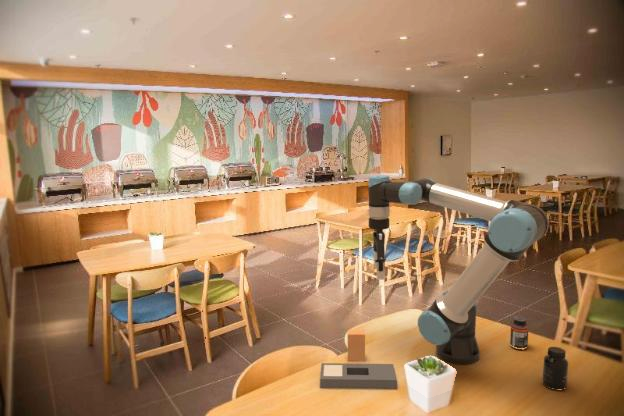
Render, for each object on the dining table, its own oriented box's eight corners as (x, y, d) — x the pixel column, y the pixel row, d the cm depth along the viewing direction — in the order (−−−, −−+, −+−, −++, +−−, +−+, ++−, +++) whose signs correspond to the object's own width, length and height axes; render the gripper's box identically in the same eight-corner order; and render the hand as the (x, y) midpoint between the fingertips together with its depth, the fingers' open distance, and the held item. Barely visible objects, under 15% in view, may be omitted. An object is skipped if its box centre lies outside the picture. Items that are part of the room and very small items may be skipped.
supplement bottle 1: (511, 342, 170) (513, 314, 168) (528, 346, 167) (530, 317, 165) (508, 348, 165) (509, 319, 164) (525, 352, 162) (527, 323, 160)
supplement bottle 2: (570, 392, 136) (572, 356, 135) (546, 390, 138) (548, 354, 136) (562, 380, 143) (564, 345, 141) (539, 378, 144) (541, 344, 143)
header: (393, 375, 149) (393, 363, 148) (396, 391, 139) (397, 379, 138) (321, 374, 150) (321, 362, 150) (320, 390, 140) (320, 378, 140)
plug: (364, 359, 160) (364, 330, 158) (365, 363, 156) (364, 334, 155) (347, 358, 160) (347, 330, 159) (347, 363, 157) (347, 334, 155)
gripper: (366, 211, 174) (366, 264, 178) (370, 224, 150) (371, 284, 153) (385, 211, 174) (385, 264, 177) (393, 223, 149) (392, 284, 153)
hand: (378, 273), depth 165 cm, fingers open, 13 cm apart
